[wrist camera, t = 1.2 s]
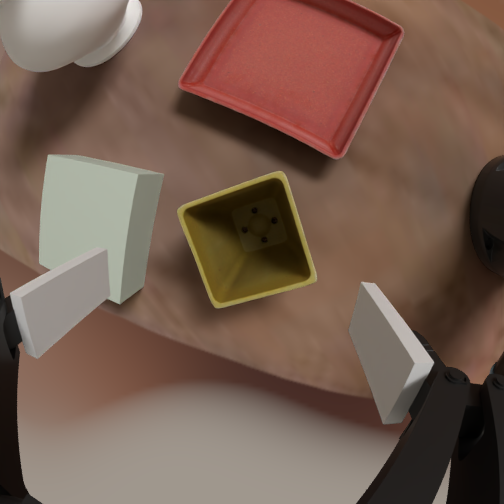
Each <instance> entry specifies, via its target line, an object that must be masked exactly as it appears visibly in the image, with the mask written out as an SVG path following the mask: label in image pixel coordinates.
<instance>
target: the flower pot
mask: <svg viewBox="0 0 504 504" xmlns="http://www.w3.org/2000/svg"><path fill="white" fill-rule="evenodd" d="M253 208H257V212H256V213H253V212H252V209H253ZM177 215H178V218H179V220H180V223H181V226H182V228H183V231H184V233H185V236H186V238H187V241H188V243H189V246H190V248H191V251H192V253H193V256H194V258H195V261H196V263H197V266H198V269H199V272H200V274H201V277H202V280H203V283H204V285H205V288H206V291H207V293H208V296H209V299H210V301H211V303H212V304H213V306H214V307H215V308H217V309H218V308H224V307H228V306H231V305H235V304H239V303H243V302H247V301H251V300H254V299H259V298H262V297H266V296H270V295H274V294H278V293H281V292H285V291H289V290H293V289H296V288H300V287H304V286H307V285H310V284H313V283H315V282H316V281H317V273H316V270H315V267H314V264H313V261H312V257H311V254H310V251H309V248H308V244H307V241H306V238H305V234H304V231H303V228H302V224H301V221H300V218H299V215H298V212H297V209H296V205H295V202H294V199H293V195H292V192H291V189H290V186H289V183H288V180H287V177H286V175H285V174H284V173H283V172H282V171H276V172H273V173H270V174H267V175H264V176H261V177H258V178H255V179H253V180H250V181H247V182H244V183H241V184H239V185H236V186H233V187H230V188H228V189H225V190H222V191H220V192H217V193H214V194H211V195H208V196H206V197H203V198H200V199H197V200H195V201H192V202H189V203H187V204H184V205H182V206H181V207H179V208H178V210H177ZM273 218H276V219H277V222H276V223H273V222H272V219H273ZM244 227H246V228H247V229H248V231H247V232H243V230H242V229H243V228H244ZM263 237H266V238H267V242H263V241H262V238H263Z"/></svg>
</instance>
